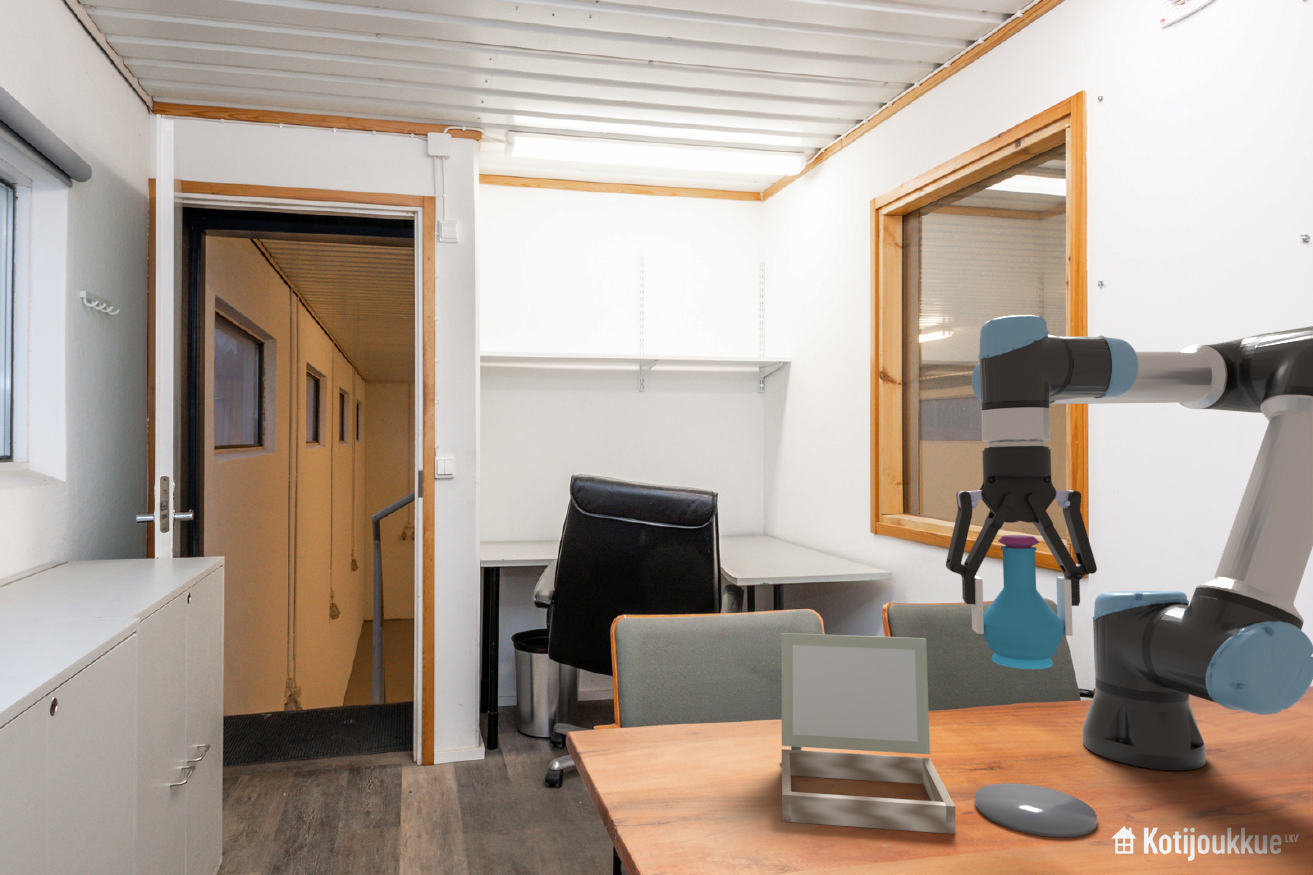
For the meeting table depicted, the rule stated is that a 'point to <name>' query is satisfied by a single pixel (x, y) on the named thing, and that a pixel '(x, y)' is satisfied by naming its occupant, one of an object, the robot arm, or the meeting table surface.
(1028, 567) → the perfume bottle
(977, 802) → the saucer
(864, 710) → the lid
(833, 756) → the cold frame
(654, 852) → the meeting table surface
